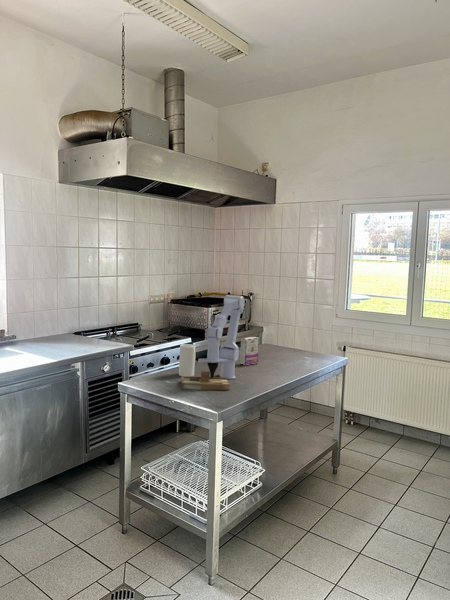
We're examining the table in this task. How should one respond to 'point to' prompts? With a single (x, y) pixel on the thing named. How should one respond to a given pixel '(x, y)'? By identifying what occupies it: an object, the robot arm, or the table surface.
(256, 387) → the table surface
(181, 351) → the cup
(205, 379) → the walnut cube
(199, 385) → the trap tray
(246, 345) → the candy bar box
